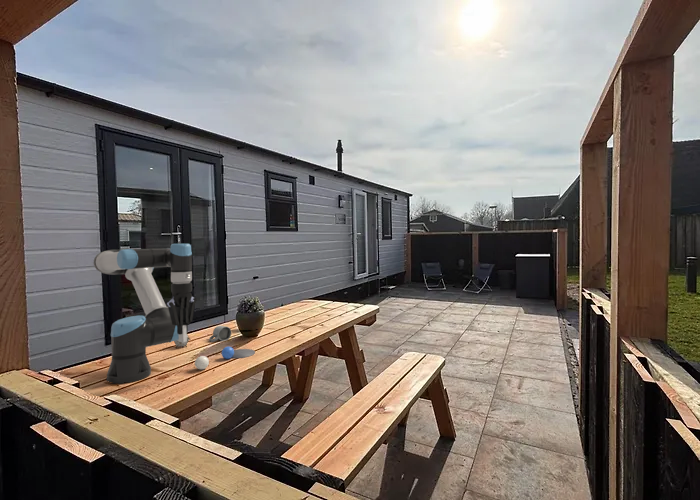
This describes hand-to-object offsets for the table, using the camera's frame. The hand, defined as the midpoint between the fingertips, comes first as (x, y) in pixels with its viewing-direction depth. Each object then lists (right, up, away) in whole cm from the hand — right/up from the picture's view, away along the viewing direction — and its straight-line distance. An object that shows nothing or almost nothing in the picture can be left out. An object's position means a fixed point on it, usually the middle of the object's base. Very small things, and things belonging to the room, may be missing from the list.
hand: (182, 341), depth 142 cm
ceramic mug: (-5, -13, +54) cm, 56 cm away
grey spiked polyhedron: (-20, -14, +41) cm, 48 cm away
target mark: (+14, -13, +30) cm, 36 cm away
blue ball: (+10, -11, +23) cm, 27 cm away
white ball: (+4, -11, +9) cm, 15 cm away
